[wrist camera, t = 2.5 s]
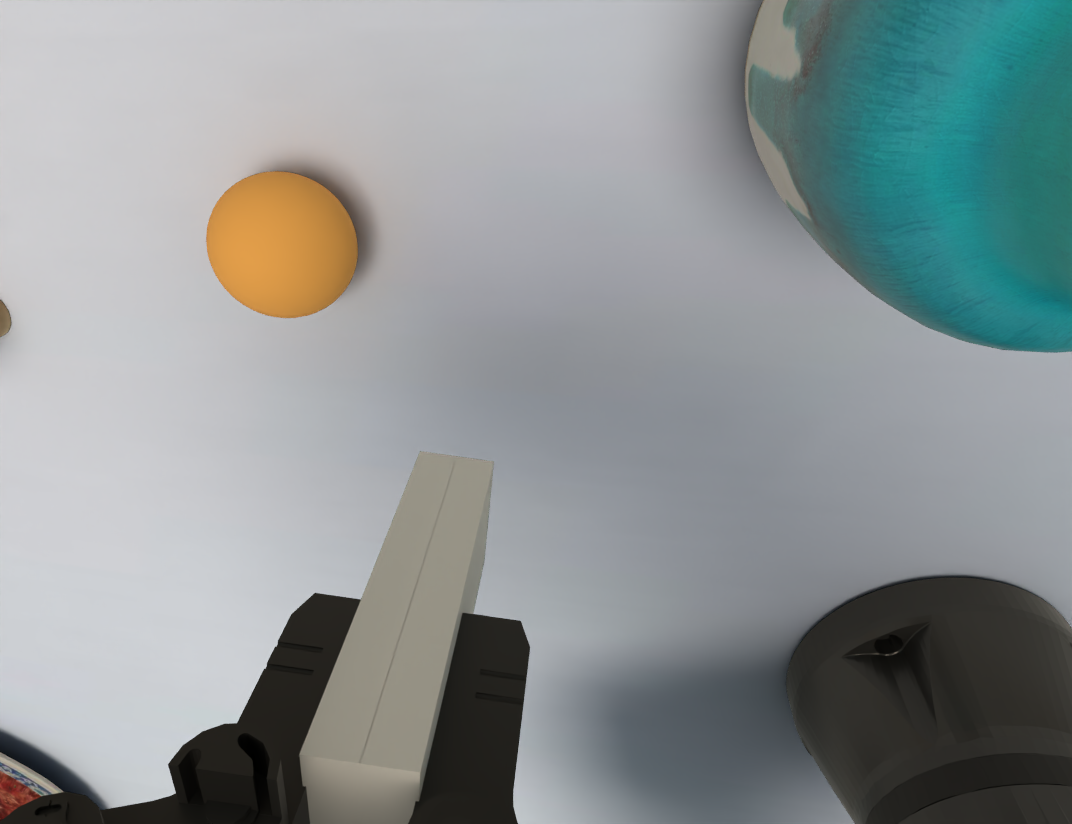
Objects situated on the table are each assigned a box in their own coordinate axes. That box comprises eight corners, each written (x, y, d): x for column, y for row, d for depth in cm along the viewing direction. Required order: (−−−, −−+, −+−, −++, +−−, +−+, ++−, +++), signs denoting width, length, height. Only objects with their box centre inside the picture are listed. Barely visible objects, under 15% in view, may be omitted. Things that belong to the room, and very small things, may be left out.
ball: (375, 296, 31) (333, 350, 27) (252, 279, 31) (189, 330, 27) (374, 167, 28) (327, 203, 24) (238, 149, 29) (165, 180, 24)
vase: (665, 130, 27) (754, 355, 10) (840, -209, 21) (1586, -846, 5) (902, 249, 28) (1308, 612, 12) (1121, -41, 23) (2405, -111, 7)
